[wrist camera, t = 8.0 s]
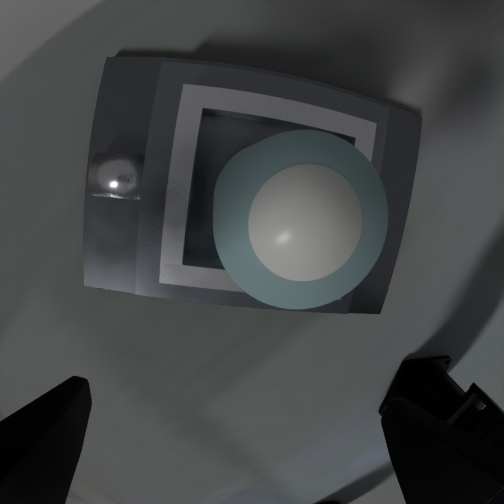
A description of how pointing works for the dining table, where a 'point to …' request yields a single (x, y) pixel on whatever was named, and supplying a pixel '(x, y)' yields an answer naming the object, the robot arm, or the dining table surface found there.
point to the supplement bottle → (330, 503)
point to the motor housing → (216, 171)
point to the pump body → (299, 218)
